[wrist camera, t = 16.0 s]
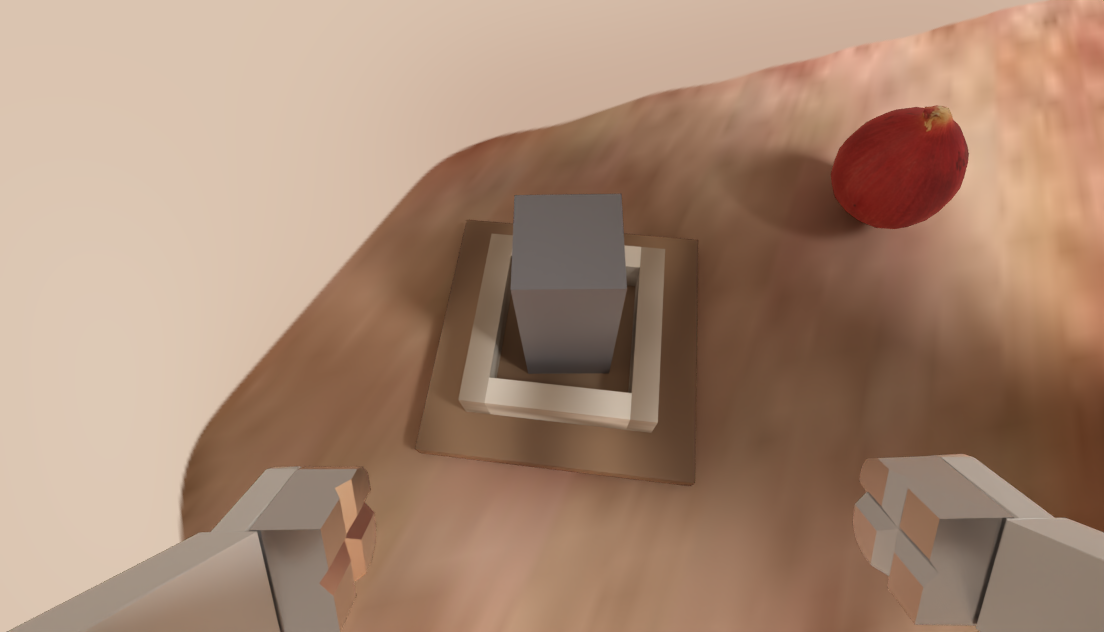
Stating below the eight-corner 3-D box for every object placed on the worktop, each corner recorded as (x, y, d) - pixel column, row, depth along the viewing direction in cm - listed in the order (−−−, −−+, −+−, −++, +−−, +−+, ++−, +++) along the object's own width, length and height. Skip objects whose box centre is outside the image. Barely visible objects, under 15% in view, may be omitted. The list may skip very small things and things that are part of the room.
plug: (606, 300, 28) (621, 193, 20) (609, 373, 27) (627, 288, 19) (529, 301, 28) (514, 195, 20) (528, 373, 27) (510, 289, 19)
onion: (872, 161, 33) (958, 47, 26) (934, 235, 31) (1048, 132, 23) (789, 192, 32) (854, 83, 25) (847, 270, 30) (937, 175, 23)
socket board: (694, 249, 31) (706, 218, 28) (690, 486, 25) (705, 476, 23) (469, 229, 32) (460, 198, 29) (420, 452, 26) (403, 439, 24)
